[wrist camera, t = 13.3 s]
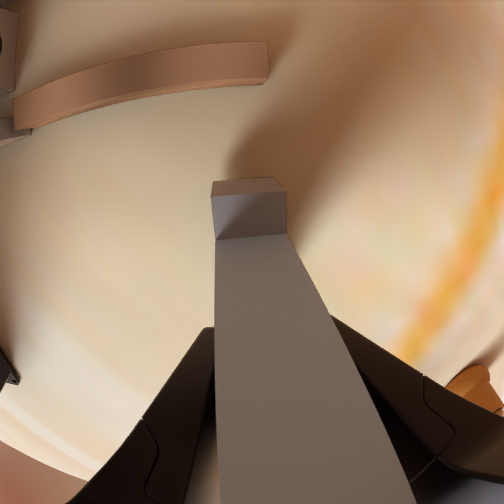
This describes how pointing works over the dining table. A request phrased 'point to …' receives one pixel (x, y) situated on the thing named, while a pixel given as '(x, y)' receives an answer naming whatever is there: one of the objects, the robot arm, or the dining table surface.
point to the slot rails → (143, 80)
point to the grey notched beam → (286, 371)
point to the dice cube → (7, 50)
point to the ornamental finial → (477, 388)
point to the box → (3, 129)
